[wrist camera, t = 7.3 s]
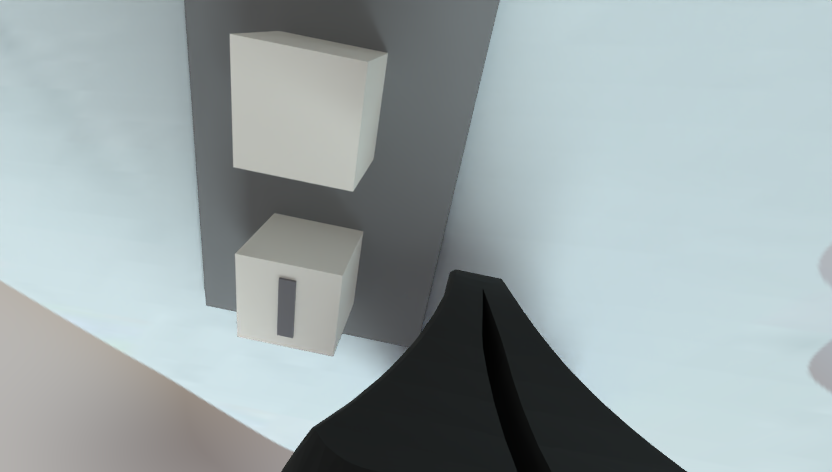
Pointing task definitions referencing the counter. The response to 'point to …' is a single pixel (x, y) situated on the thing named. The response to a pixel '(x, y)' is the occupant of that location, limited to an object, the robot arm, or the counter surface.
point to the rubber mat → (394, 152)
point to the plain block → (305, 107)
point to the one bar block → (297, 283)
